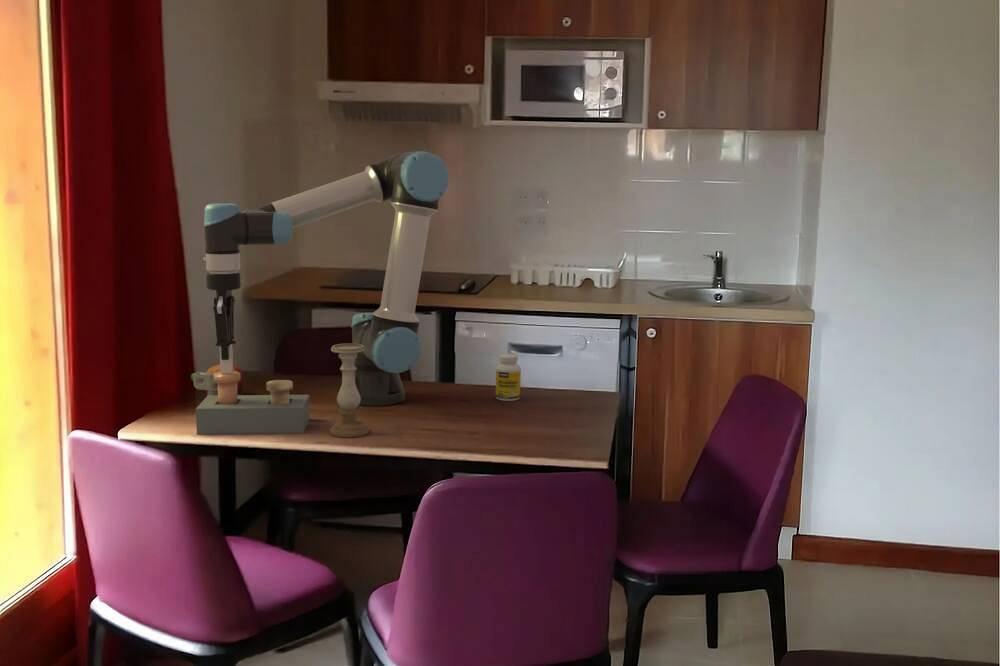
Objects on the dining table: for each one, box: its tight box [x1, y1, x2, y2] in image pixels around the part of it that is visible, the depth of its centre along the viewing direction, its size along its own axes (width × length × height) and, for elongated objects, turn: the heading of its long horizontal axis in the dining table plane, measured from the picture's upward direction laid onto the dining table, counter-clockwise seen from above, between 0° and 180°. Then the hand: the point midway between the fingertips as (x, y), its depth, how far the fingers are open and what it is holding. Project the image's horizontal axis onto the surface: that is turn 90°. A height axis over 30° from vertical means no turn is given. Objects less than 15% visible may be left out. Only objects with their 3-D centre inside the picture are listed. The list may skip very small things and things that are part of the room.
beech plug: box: [266, 379, 294, 404], centre depth 239 cm, size 6×6×10 cm
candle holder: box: [329, 343, 369, 438], centre depth 233 cm, size 9×9×20 cm
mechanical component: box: [190, 371, 218, 397], centre depth 250 cm, size 3×10×10 cm, turn 78°
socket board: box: [195, 394, 311, 435], centre depth 239 cm, size 24×13×6 cm, turn 94°
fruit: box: [206, 361, 246, 395], centre depth 266 cm, size 11×10×10 cm
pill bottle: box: [495, 353, 522, 402], centre depth 269 cm, size 6×6×12 cm
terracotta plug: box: [214, 371, 241, 404], centre depth 238 cm, size 6×6×10 cm
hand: (226, 372), depth 237 cm, fingers closed
